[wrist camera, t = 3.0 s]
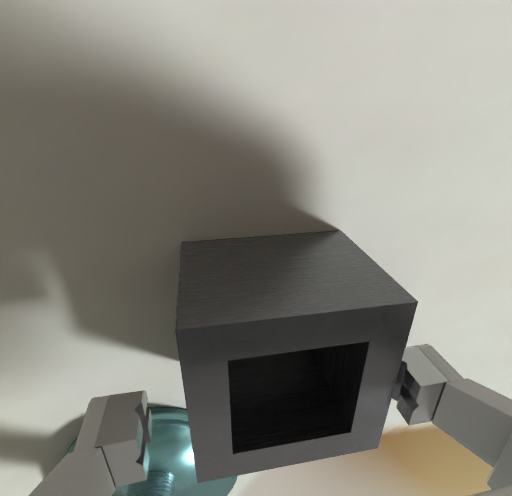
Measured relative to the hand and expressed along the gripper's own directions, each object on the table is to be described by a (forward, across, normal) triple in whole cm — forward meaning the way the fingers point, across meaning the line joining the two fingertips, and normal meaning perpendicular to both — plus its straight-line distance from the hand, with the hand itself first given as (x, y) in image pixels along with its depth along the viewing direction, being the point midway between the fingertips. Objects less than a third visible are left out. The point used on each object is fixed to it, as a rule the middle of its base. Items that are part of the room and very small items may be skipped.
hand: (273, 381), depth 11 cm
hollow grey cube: (+4, 0, 0) cm, 4 cm away
